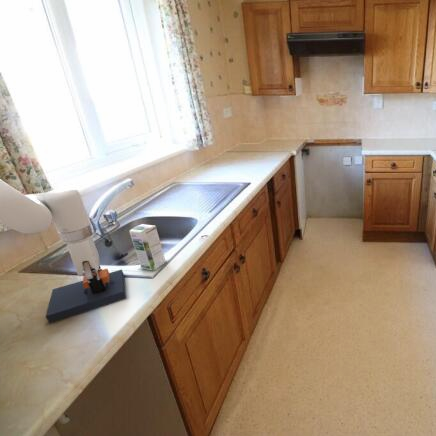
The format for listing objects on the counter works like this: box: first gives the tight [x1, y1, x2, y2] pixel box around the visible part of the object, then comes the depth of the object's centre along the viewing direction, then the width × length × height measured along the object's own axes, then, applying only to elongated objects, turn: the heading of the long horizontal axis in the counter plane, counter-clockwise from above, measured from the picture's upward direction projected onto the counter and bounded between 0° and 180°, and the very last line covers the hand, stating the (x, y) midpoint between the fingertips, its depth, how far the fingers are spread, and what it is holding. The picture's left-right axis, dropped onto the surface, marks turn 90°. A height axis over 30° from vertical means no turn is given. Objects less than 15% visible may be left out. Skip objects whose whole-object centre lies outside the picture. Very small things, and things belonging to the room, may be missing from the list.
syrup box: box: [128, 223, 167, 271], centre depth 107 cm, size 6×6×14 cm
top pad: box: [82, 268, 110, 289], centre depth 95 cm, size 6×5×4 cm
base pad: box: [45, 268, 127, 324], centre depth 95 cm, size 18×14×2 cm
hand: (99, 286), depth 96 cm, fingers closed on top pad, 5 cm apart
